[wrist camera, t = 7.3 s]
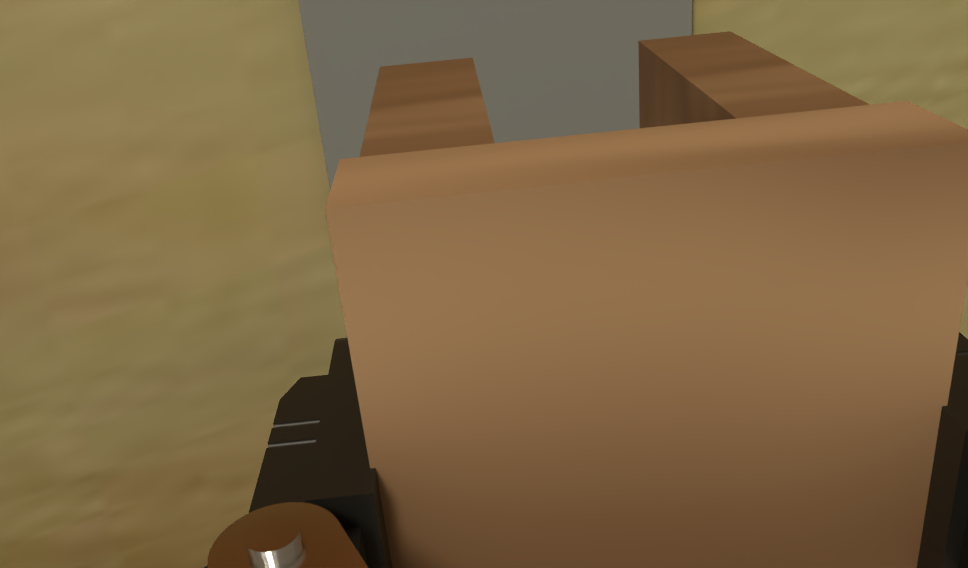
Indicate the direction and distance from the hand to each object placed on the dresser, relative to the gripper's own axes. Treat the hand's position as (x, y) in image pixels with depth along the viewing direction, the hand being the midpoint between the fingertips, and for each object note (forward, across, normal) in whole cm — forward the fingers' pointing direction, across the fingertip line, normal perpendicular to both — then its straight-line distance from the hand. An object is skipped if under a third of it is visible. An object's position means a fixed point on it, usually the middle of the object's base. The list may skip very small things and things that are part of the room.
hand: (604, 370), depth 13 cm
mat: (+15, 0, 0) cm, 15 cm away
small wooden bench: (+4, 0, 0) cm, 4 cm away
